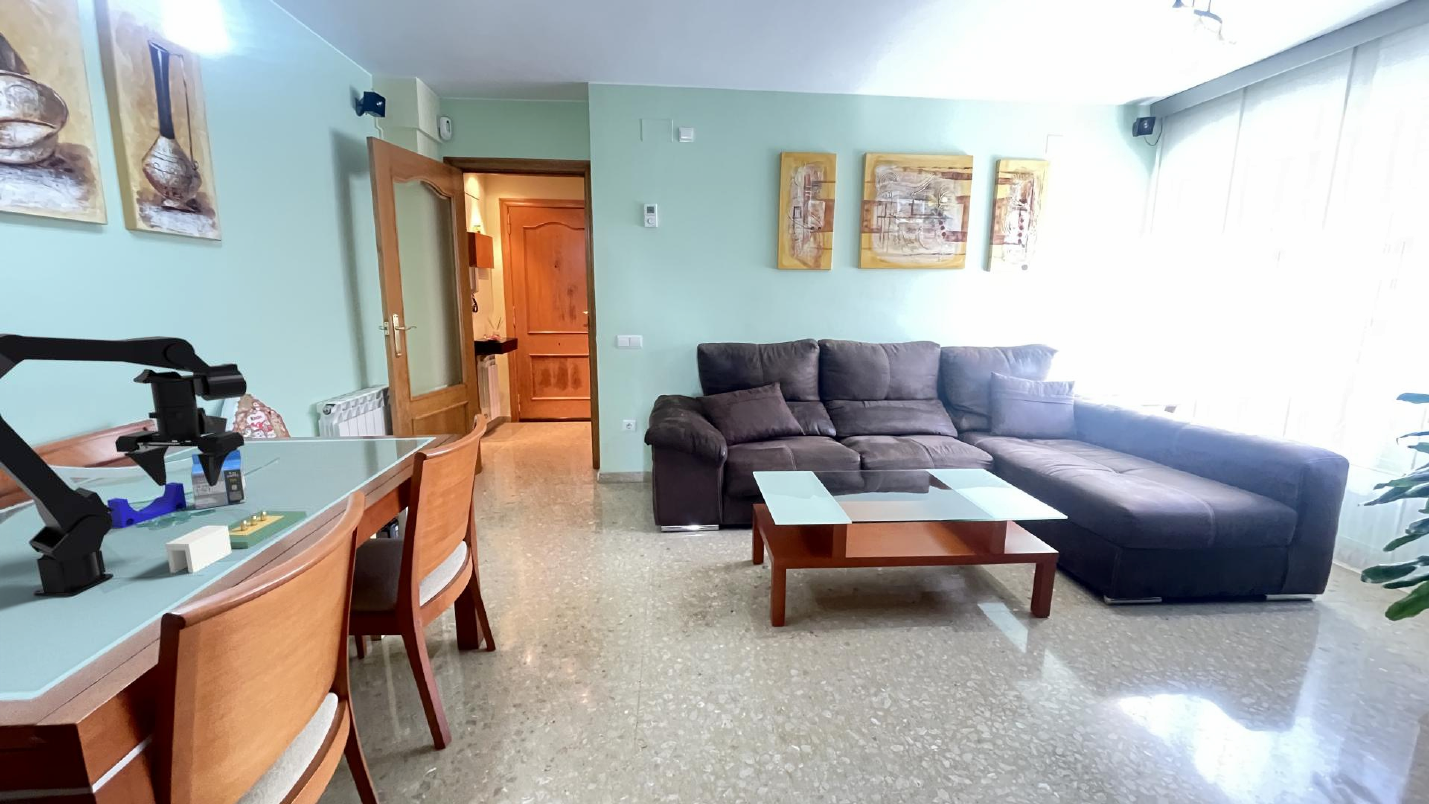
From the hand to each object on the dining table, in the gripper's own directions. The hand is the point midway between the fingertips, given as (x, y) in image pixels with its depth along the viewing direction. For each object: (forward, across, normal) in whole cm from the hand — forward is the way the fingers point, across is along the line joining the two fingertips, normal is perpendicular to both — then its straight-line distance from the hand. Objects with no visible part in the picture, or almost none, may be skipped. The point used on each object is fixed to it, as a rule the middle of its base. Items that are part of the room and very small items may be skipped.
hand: (188, 485), depth 106 cm
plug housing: (+13, -6, +6) cm, 15 cm away
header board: (+12, -5, -8) cm, 16 cm away
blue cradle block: (+13, +24, -16) cm, 31 cm away
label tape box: (+13, +14, -23) cm, 30 cm away
